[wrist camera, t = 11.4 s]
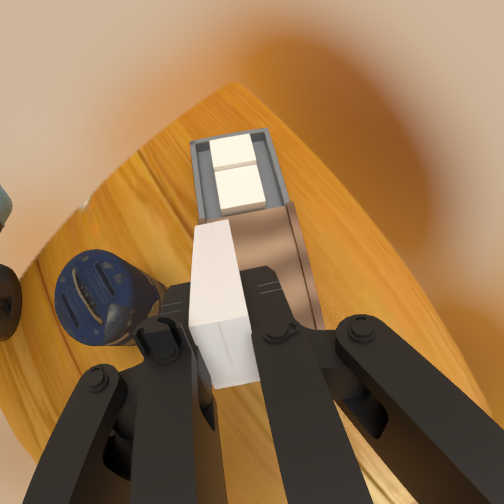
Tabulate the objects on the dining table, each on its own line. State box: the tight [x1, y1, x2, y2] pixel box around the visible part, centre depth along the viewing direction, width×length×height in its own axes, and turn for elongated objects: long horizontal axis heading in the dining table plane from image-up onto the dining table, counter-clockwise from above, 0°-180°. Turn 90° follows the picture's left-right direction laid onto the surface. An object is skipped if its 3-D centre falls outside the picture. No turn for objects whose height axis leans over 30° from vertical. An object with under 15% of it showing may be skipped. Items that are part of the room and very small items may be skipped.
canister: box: [55, 249, 168, 346], centre depth 31 cm, size 10×10×18 cm
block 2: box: [215, 164, 266, 217], centre depth 41 cm, size 6×6×5 cm
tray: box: [190, 128, 290, 221], centre depth 44 cm, size 15×13×3 cm
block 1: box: [209, 134, 256, 172], centre depth 42 cm, size 6×6×5 cm
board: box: [198, 202, 325, 330], centre depth 38 cm, size 18×13×5 cm
